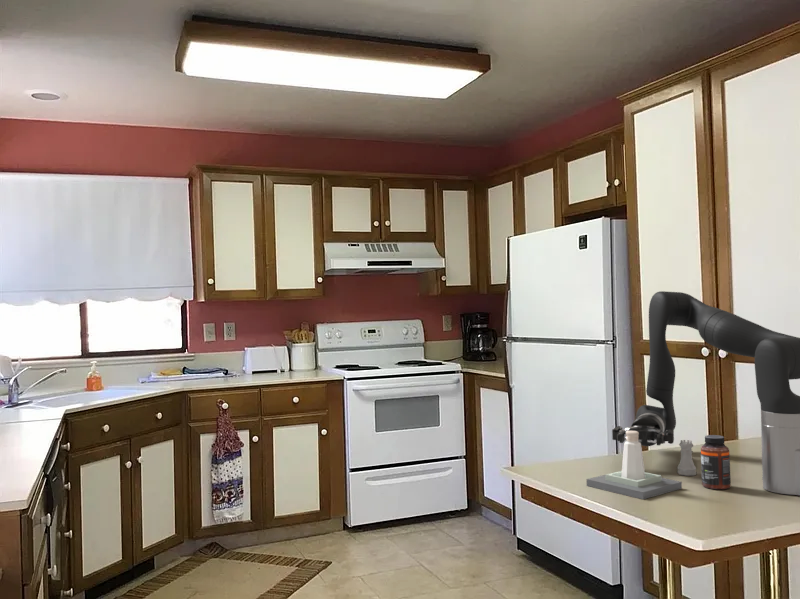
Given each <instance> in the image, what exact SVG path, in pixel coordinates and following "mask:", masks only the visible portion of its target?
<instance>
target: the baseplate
mask: <svg viewBox="0 0 800 599" xmlns="http://www.w3.org/2000/svg"><path fill="white" fill-rule="evenodd" d="M621 474H622V470H619V471H616V472H615V471H614V472H609V473H605V474H603V475H602V474H601V475H599V476H594V477H589V478H586V487H589V488H594V489H598V490H603V491H606V492H607V491H608V492H611V493H616V494H619V495H623V496H629V497H630V498H631V497H632V498H636V499H640V500H646V499H649V498H653V497H656V496H659V495H663V494H666V493H670V492H674V491H679V490H682V488H683V485H682V483H683V482H682V481H679V480H675V479H670V478H666V477H662V475H661V474H656V473H650V472H646V471H645V479H641V480H633V479H628V478H623V477H621Z"/></svg>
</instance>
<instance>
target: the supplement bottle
mask: <svg viewBox="0 0 800 599" xmlns="http://www.w3.org/2000/svg"><path fill="white" fill-rule="evenodd" d="M704 442H705V443H704V444H703V445H701V447H700V465H701V466H700V468H701V485H702V487H704V488H707V489H711V490H719V491H721V490H723V491H724V490H727V489H730V488H731V487H732V485H731V482H732V481H731V458H730V456H731V454H730V449H729V447H728V446H727V445H725V437H724V436H723V435H716V434H708V435H705V436H704Z"/></svg>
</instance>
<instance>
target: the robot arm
mask: <svg viewBox="0 0 800 599" xmlns="http://www.w3.org/2000/svg"><path fill="white" fill-rule="evenodd" d="M667 326H680V327H688V328H691V329H693V330H696V331H698V333H699V336H700V338H701V339H702V340H703V342H706V343H707V344H708V345H710V346H712V347H714V348H716V349H717V350H721V351H723V352H726V353H730V354H733V355H738V356H743V357H749V358H754V372H755V373H754V374H755V385H756V395H757V398H758V401H759V404H760V428H761V429H760V430H761V466H762V467H761V469H762V470H761V471H762V474H761V476H762V479H761V480H762V489H763V490H766V491H769V492H772V493H774V494H775V493H776V494H782V495H796V496H800V395H799V394H796V393H795V392H793V390H792V388H791V386H790V381H791V380H800V337H797V336H793V335H790V334H789V335H788V334H785V333H781V332H778V331H775V330H772V329H769V328H767V327H764V326H762V325H761V324H758V323H755V322H753V321H751V320H748V319H746V318H743V317H741V316H739V315H737V314H734V313H732V312H729V311H727V310H723V309H722V308H718V307H714V306H711V305H708V304H706V303H704V302H702V301H701V300H699V299H697V298H696V297H694V296H692V295H690V294H689V293H685V292H683V291H682V292H680V291H677V292H676V291H664V290H663V291H662V290H661V291H657V292H655V293H654V294H653V295H652V296H651V298H650V301H649V305H648V340H649V341H648V343H649V345H648V346H649V365H648V366H649V367H648V374H647V383H646V388H645V393H646V395H647V396H648V397H649V398H651V399H653V400H656V401H658V402H659V403H661V405H662V407H659V406H654V405H649V404H643V405H641V406H639V407H638V408H637V411H636V415H635V420H633V421H632V424H631V425H630V426H628V427H625V428H624V429H623V427H622V426H620V425H618V426H616V427H614V428H612V430H611V434H612V436H611V438H612V440H613V441H617V442H619V443H620V444H624V443H625V442H626V441H627V438H626V436H627V435H626V431H637V432H639V435H638V436H639V438H638V440H639V441H638V442H640V443H641V447H642V446H643V447H651V446H655V445H656V446H661V445H662V444H663V445H664V444H666V442H667V443H668V444H674V441H675V429H676V426H677V417H676V413H675V412H676V411H675V408H674V388H675V381H676V365H675V362H674V360H673V356H672V355H671V352H670V350H669V348H668V343H667V339H666V338H667V336H666V332H667Z"/></svg>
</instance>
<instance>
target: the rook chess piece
mask: <svg viewBox="0 0 800 599" xmlns="http://www.w3.org/2000/svg"><path fill="white" fill-rule="evenodd" d="M692 442H693V441H692V440H690V439H689V440H688V439H682V440H680V443H679V444H678V445H679V447H680V450H679V451H680V462H679V463H678V465H677V467H676V468H677V471H676V473H677V474H678V475H679V476H684V477H693V476H694V477H695V476H696V475H697V467H696V466H695V463H694V461H693V457H692V456H693V455H692V453H693V449H692V448H693V447H694V444H693V443H692Z"/></svg>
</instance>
